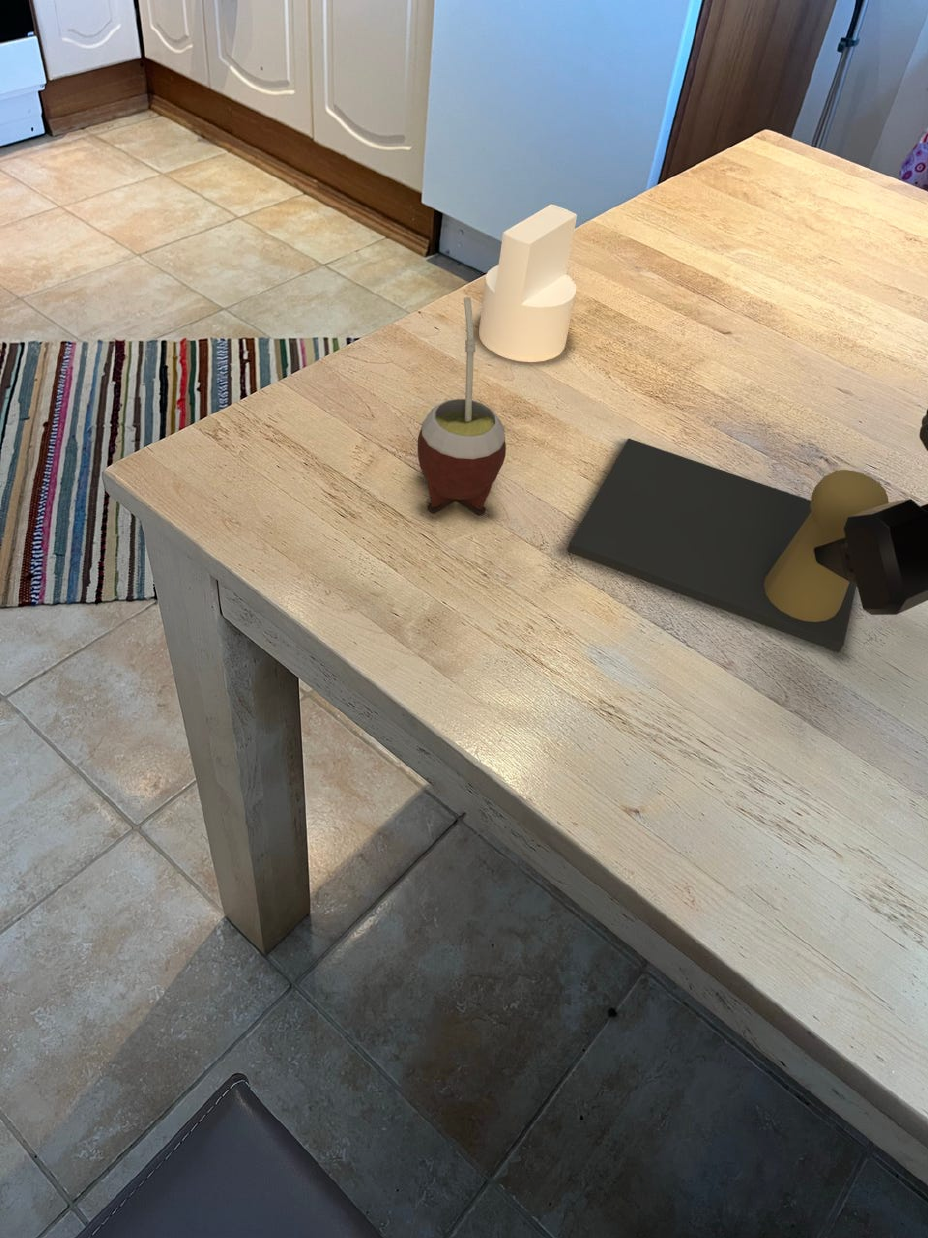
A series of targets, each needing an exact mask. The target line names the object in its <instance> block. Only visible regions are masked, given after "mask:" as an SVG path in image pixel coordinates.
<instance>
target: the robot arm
mask: <svg viewBox="0 0 928 1238" xmlns="http://www.w3.org/2000/svg"><path fill="white" fill-rule="evenodd" d="M919 439H920V441H921V443H922V444H923V446H924V448H925V450H926V452H928V408H927V409H926V414H925V415H923V417H922V418H921V426H920V429H919ZM843 529H844V533H845V537H843V538H840V539H837V540H834V541H831V542H828V543H826V544H823V545H820V546H817V547H815V548H814V555H815V559H816V562H817V563H818V564H820V565H822V566H823V567H825V568H827V569H828V570H830V571H832V572H833V573H835V574H837V575H839V576H840V577H842V578H844V579H845V580H847V581H849V582H850V583H852V584H853V585H855V586H856V588H857V590H858V595H859V599H860V603H861V607H862V610H864V612H866V613H868V614H869V615H871V616H894V615H895V616H897V615H899V614H901V613H903V612H905V611H908V610H910V609H912V608H914V607H917V606H919V605H921V604H923V603H926V602H927V601H928V503H925V504H922V505H919V504H918V503H917V502H915V501H914V500H913V499H911V498H909V499H902V500H901V499H900V500H895V501H891V502H889V503H887V504H881V505H878V506H876V507H873V508H870V509H868V510H865V511H863V512H860V513H857V514H855V515H852V516H850V517H848V518H847V521H846V523H845V526H844V528H843Z"/></svg>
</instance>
